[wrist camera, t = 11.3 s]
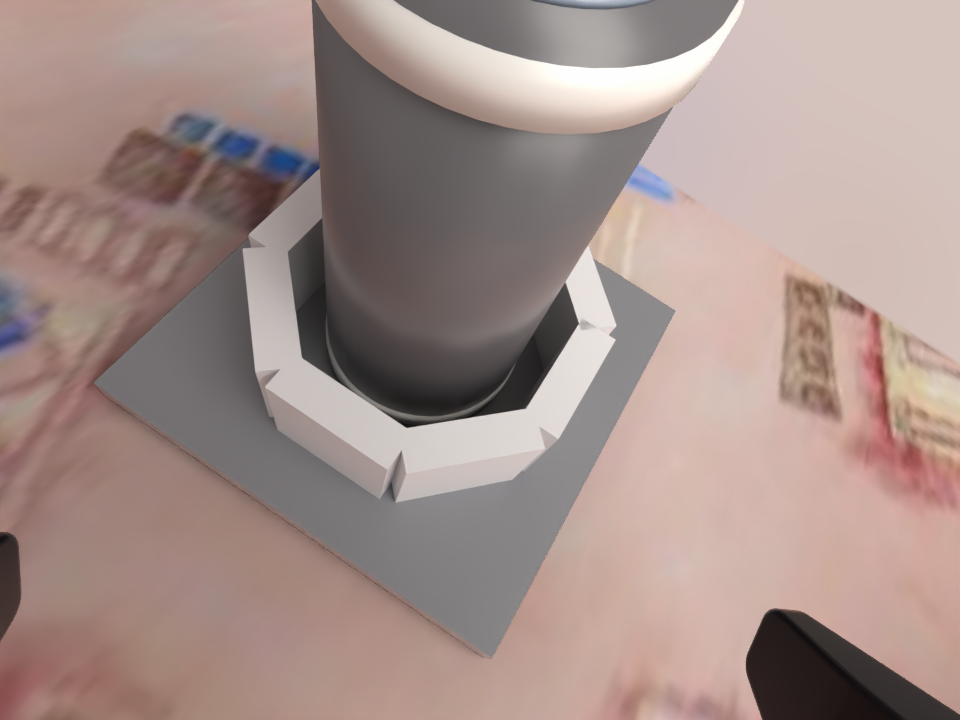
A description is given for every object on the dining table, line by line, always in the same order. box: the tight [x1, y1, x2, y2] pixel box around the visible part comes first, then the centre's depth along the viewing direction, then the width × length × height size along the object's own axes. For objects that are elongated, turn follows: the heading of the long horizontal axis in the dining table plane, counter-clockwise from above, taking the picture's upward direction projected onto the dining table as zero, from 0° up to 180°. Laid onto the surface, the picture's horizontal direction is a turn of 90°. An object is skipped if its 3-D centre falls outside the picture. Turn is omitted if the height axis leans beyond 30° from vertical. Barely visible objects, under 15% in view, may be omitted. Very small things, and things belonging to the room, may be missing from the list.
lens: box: [312, 0, 745, 428], centre depth 12 cm, size 5×5×12 cm
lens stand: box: [93, 169, 675, 658], centre depth 17 cm, size 12×12×4 cm
